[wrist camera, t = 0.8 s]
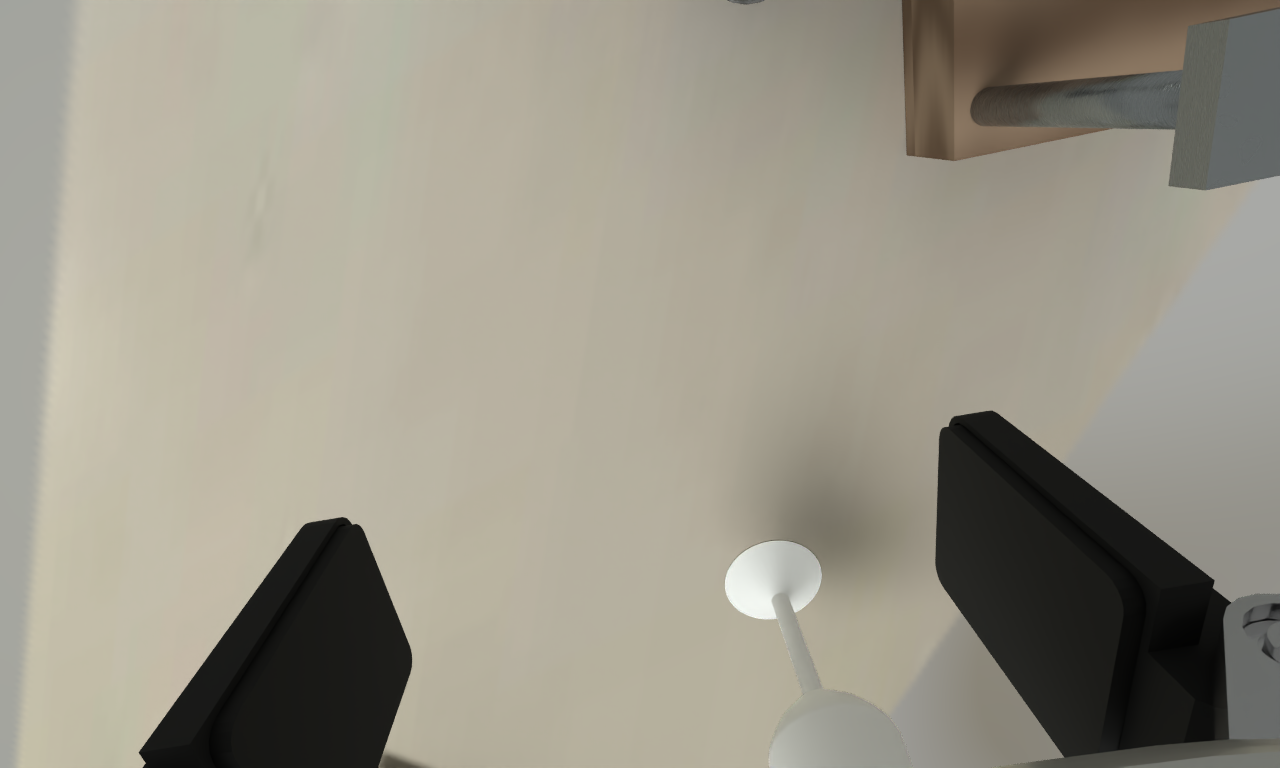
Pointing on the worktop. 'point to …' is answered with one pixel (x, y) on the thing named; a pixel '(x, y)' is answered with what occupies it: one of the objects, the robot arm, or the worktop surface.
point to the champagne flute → (810, 670)
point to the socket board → (1031, 58)
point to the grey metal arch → (1175, 103)
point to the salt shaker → (745, 1)
